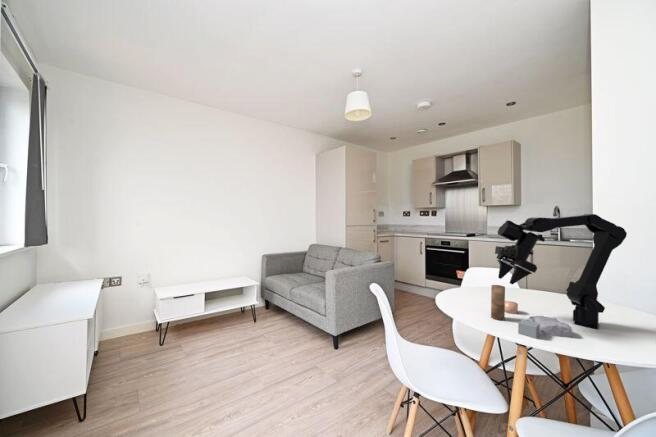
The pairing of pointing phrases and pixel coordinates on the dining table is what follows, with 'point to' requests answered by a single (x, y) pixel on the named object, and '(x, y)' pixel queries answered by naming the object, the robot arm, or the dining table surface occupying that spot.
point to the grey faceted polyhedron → (529, 328)
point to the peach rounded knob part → (511, 307)
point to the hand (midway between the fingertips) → (504, 280)
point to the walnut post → (498, 302)
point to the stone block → (552, 326)
